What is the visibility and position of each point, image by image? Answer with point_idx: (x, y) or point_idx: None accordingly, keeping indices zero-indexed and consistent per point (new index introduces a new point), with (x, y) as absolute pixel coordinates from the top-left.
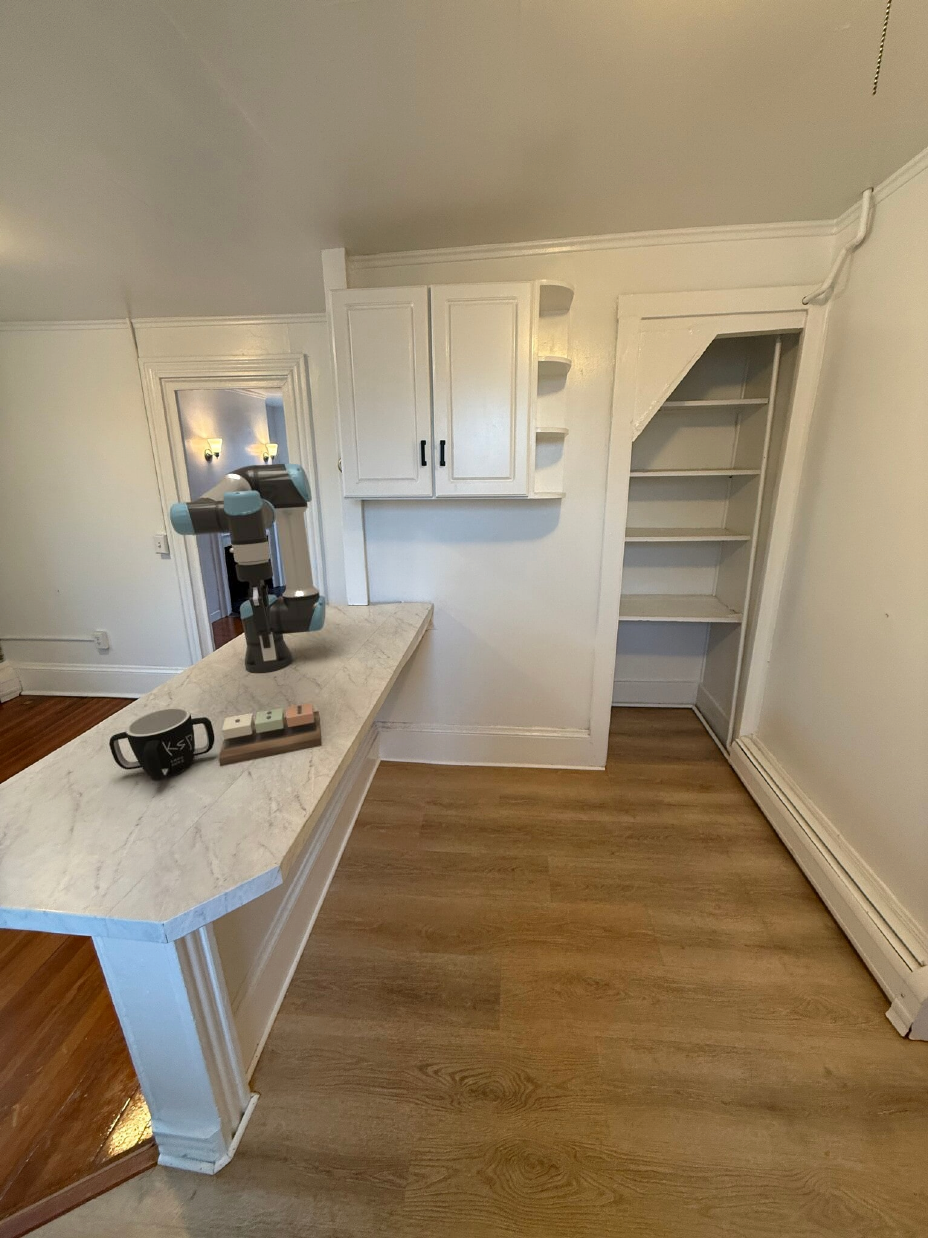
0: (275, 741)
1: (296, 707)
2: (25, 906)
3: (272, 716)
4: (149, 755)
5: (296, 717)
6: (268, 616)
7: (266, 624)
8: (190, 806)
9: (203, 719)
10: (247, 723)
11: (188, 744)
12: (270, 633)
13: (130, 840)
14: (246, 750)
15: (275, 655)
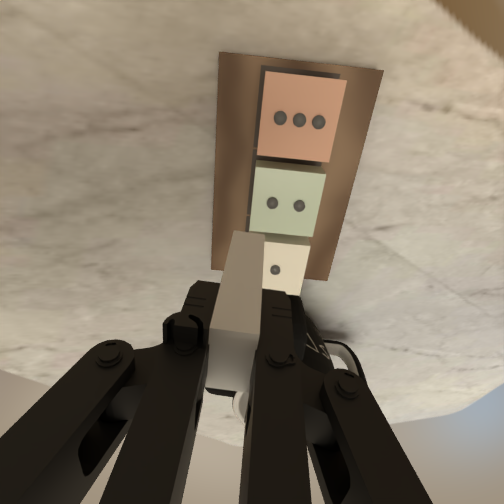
0: (328, 182)
1: (275, 127)
2: (468, 405)
3: (295, 196)
4: None
5: (334, 133)
6: (174, 481)
7: (418, 482)
8: (413, 303)
9: (300, 342)
10: (298, 251)
11: (312, 338)
12: (274, 346)
13: (434, 352)
14: (329, 238)
15: (253, 241)
